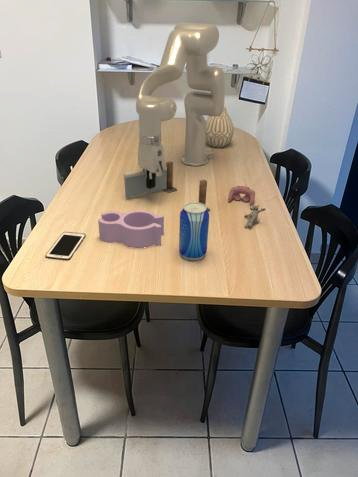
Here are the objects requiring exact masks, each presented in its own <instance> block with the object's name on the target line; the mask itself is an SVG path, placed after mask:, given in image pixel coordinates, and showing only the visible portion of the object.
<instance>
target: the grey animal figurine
mask: <svg viewBox="0 0 358 477" xmlns="http://www.w3.org/2000/svg"><path fill="white" fill-rule="evenodd" d="M259 207H260V204H258V205H254V204H253V205H251V206H248V208H249V210H250V213H249V214H244V218H245V219H246V218H248V220H247V221H246V224H245V225H244V228H246V229H248V228H249V227H252V226H253V223H254V221H255V224H256V225H258V217H259V213H261V212H264V211H267V210H266V208H265V207H264V208H262V207H260V209H259Z"/></svg>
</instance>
